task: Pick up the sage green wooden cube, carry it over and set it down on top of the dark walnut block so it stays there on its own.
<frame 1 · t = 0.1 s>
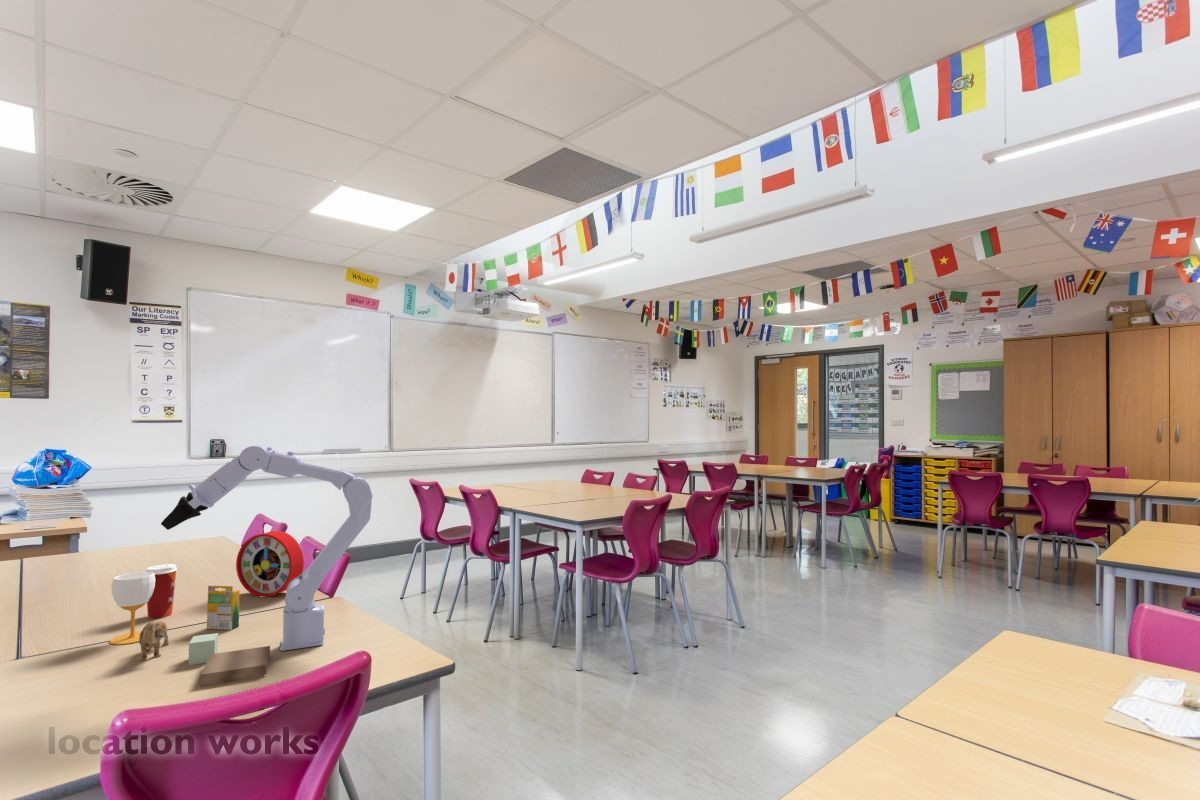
hand: (168, 523, 137), 32 cm above the table, tool tilted 50°, fingers open, 7 cm apart
sage cube: (203, 659, 138), on the table
cup: (132, 639, 152), on the table
paper cup: (159, 616, 170), on the table
toy clock: (269, 595, 190), on the table
walnut block: (237, 672, 132), on the table
crayon box: (223, 628, 159), on the table
tan animal figurine: (155, 654, 142), on the table
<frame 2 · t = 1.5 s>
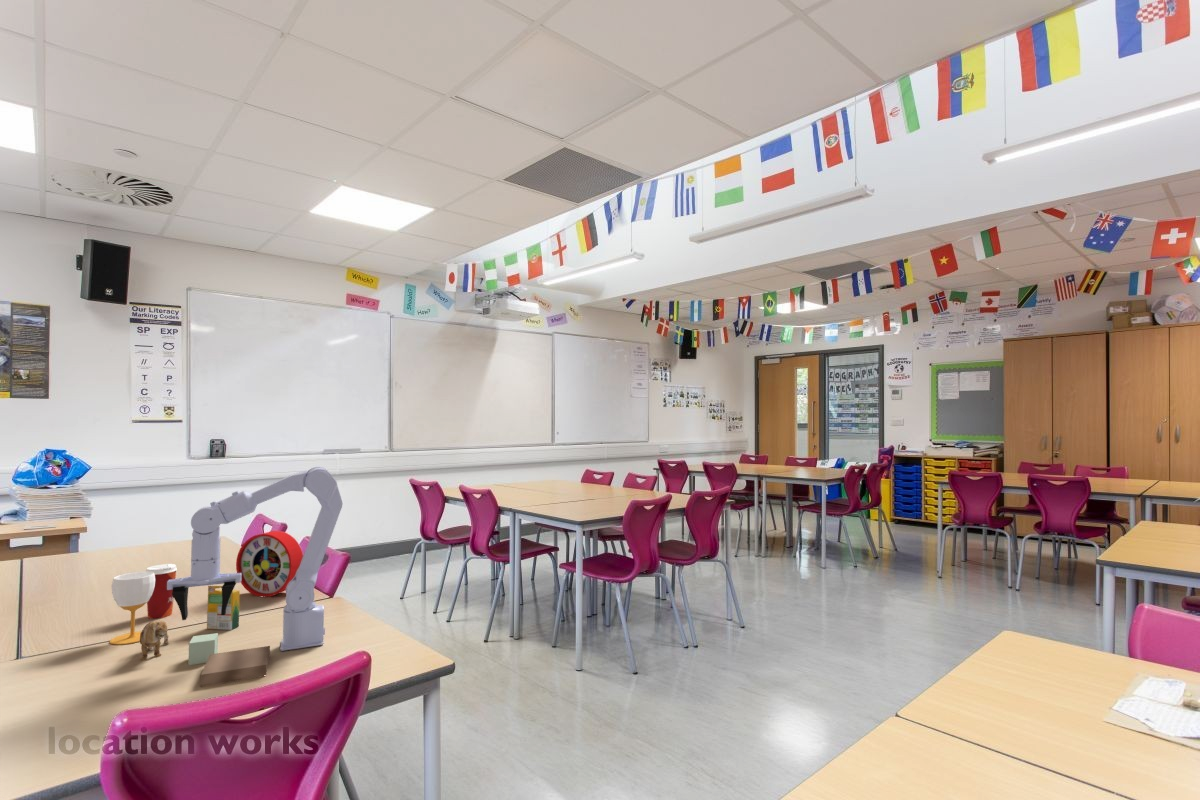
hand: (204, 616, 138), 10 cm above the table, tool pointing down, fingers open, 7 cm apart
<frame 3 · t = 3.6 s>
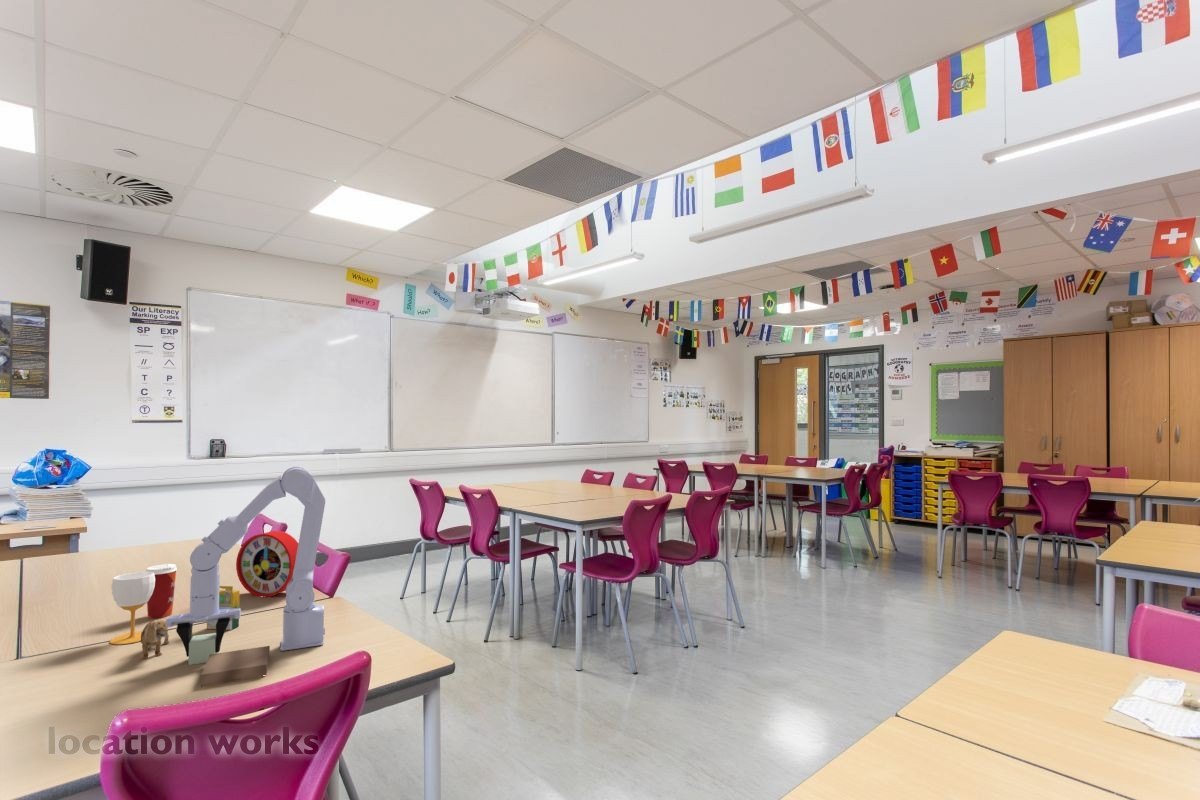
hand: (203, 653, 138), 1 cm above the table, tool pointing down, fingers closed on sage cube, 5 cm apart
sage cube: (203, 659, 138), on the table, touching gripper
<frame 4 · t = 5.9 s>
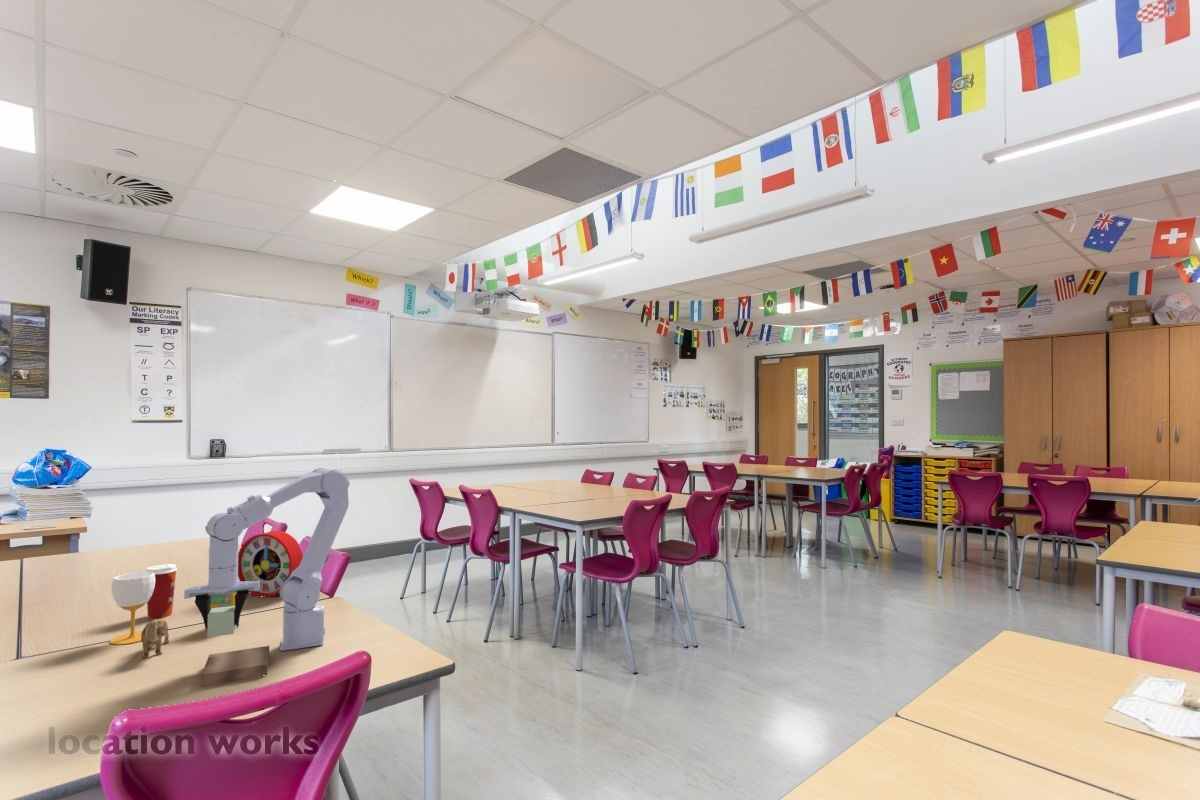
hand: (222, 625, 135), 9 cm above the table, tool pointing down, fingers closed on sage cube, 5 cm apart
sage cube: (222, 632, 135), point 7 cm above the table, touching gripper
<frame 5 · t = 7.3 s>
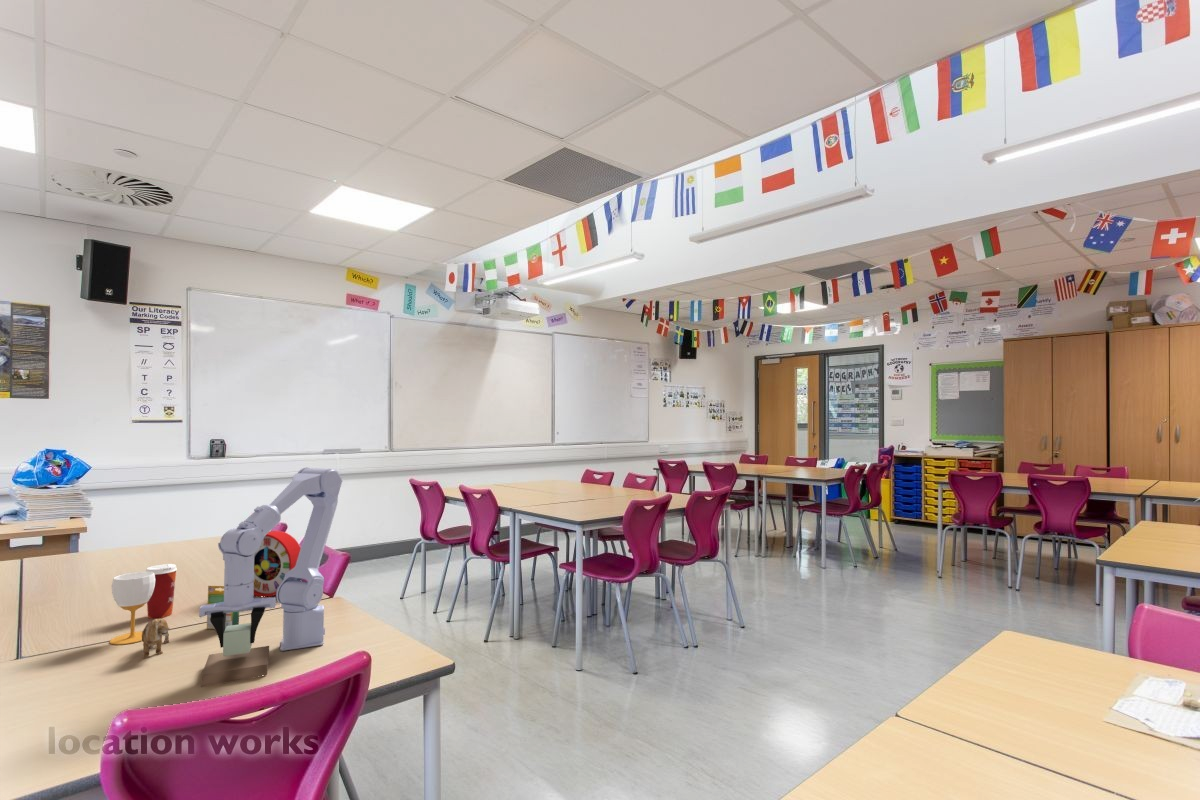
hand: (237, 643, 132), 6 cm above the table, tool pointing down, fingers closed on sage cube, 5 cm apart
sage cube: (237, 650, 132), point 4 cm above the table, touching gripper
when the fingers open (6 cm above the table, at t = 8.5 s): sage cube drops 2 cm, point 2 cm above the table.
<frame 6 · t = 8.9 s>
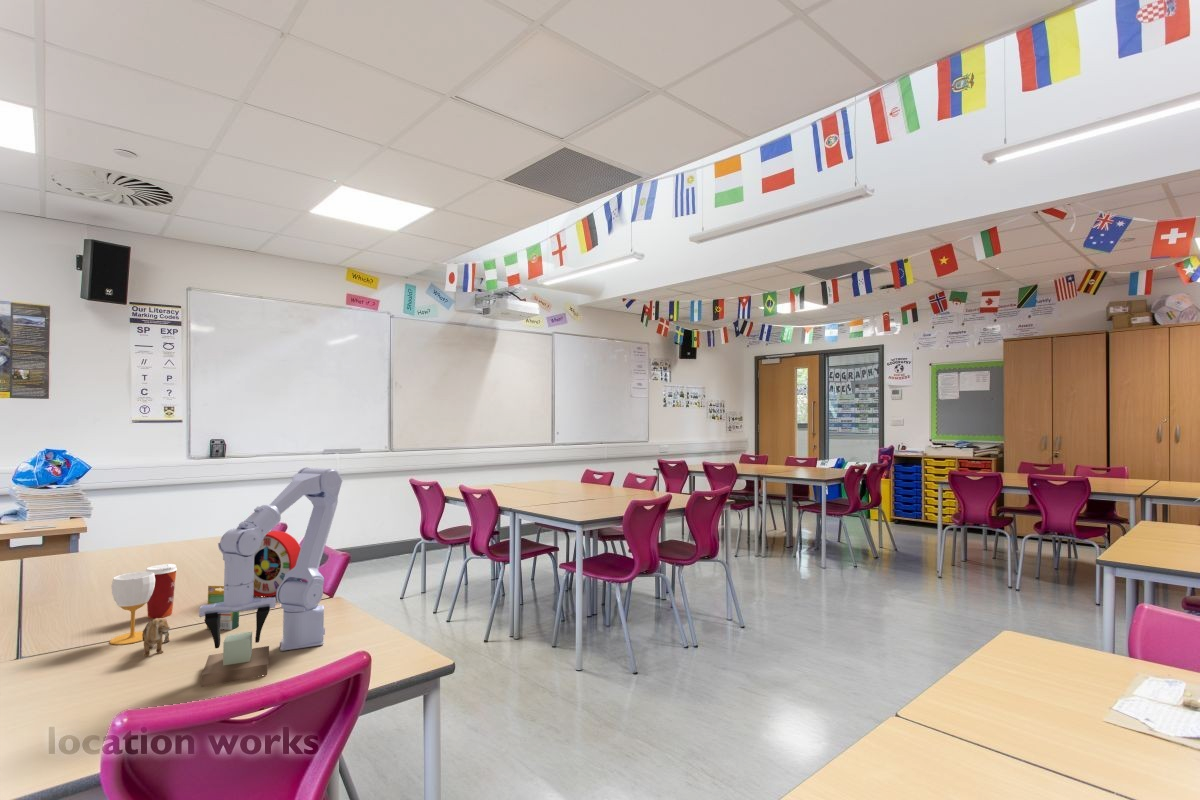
hand: (237, 643, 132), 6 cm above the table, tool pointing down, fingers open, 7 cm apart
sage cube: (237, 659, 132), point 2 cm above the table
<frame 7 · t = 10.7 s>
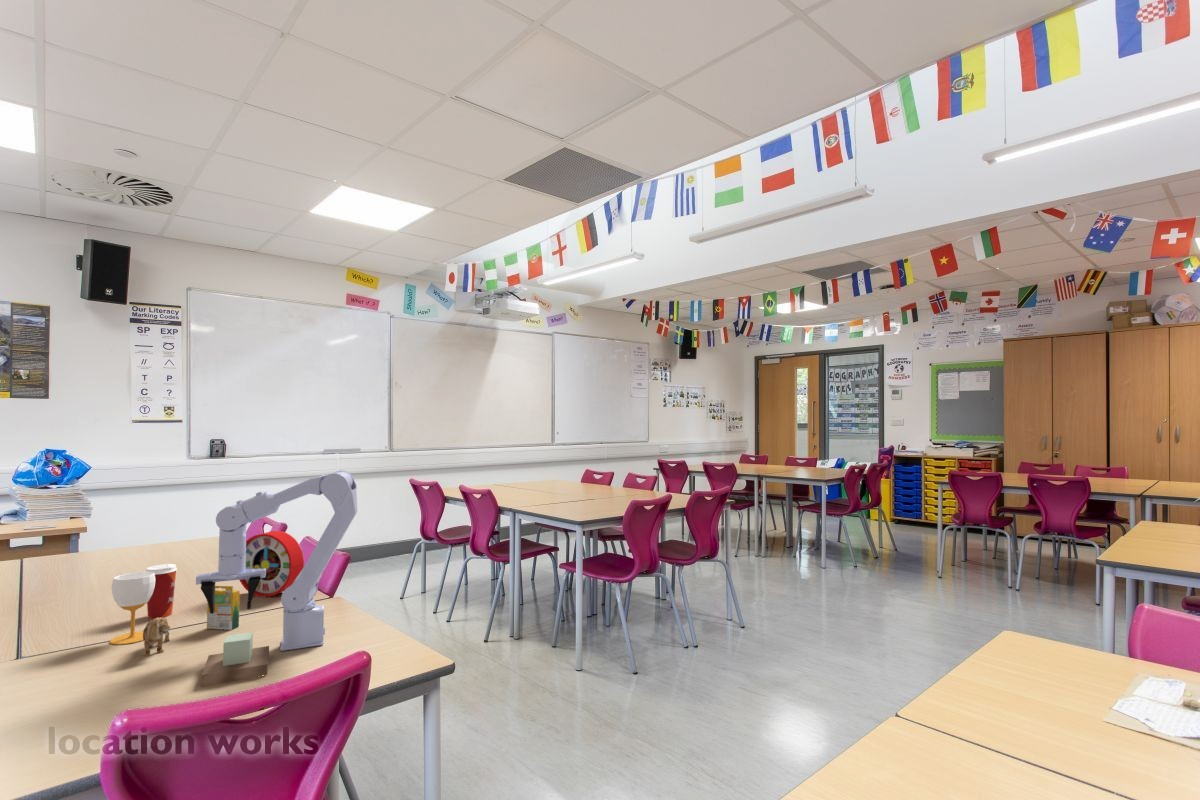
hand: (230, 610, 144), 9 cm above the table, tool pointing down, fingers open, 7 cm apart
sage cube: (237, 660, 131), point 2 cm above the table, touching walnut block
walnut block: (237, 673, 132), on the table, touching sage cube
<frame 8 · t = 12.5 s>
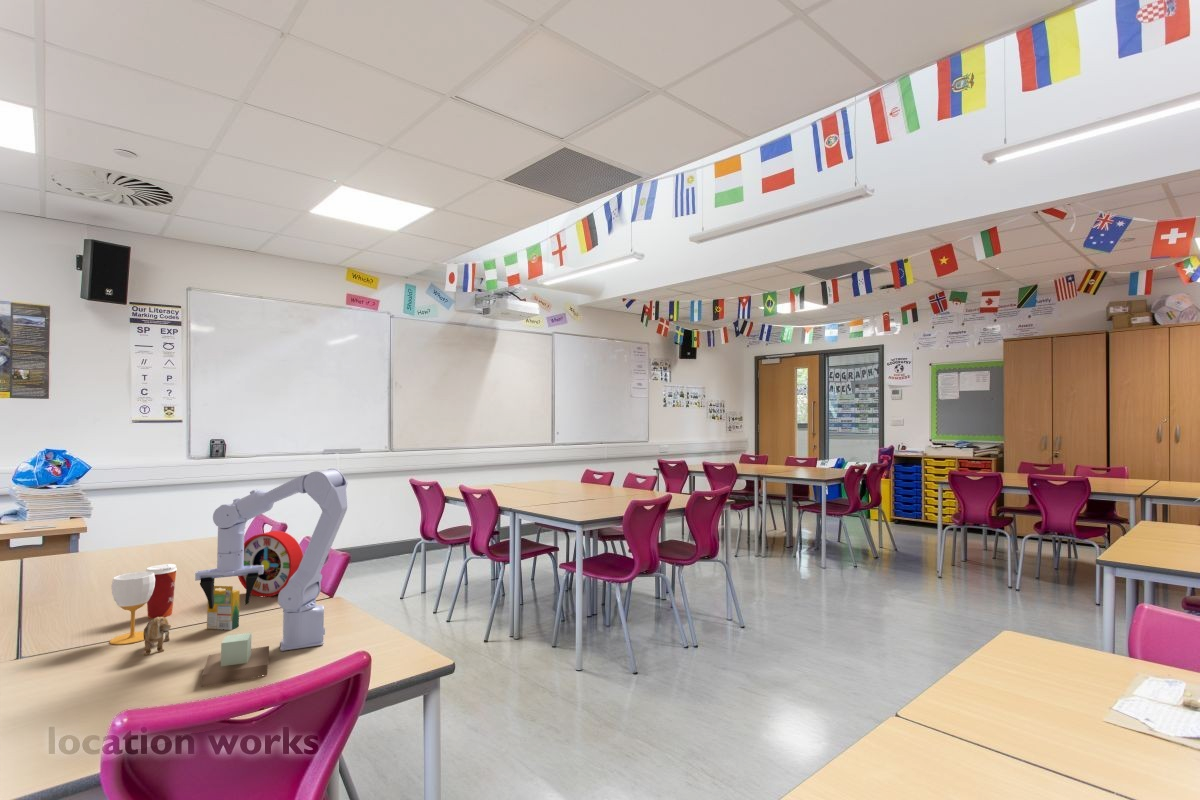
hand: (229, 605, 148), 9 cm above the table, tool pointing down, fingers open, 7 cm apart
at the end: sage cube inside the target area on the walnut block (0.3 cm from its centre), point 3.0 cm above the walnut block's base; sage cube tilted 0°; the gripper is holding nothing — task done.
